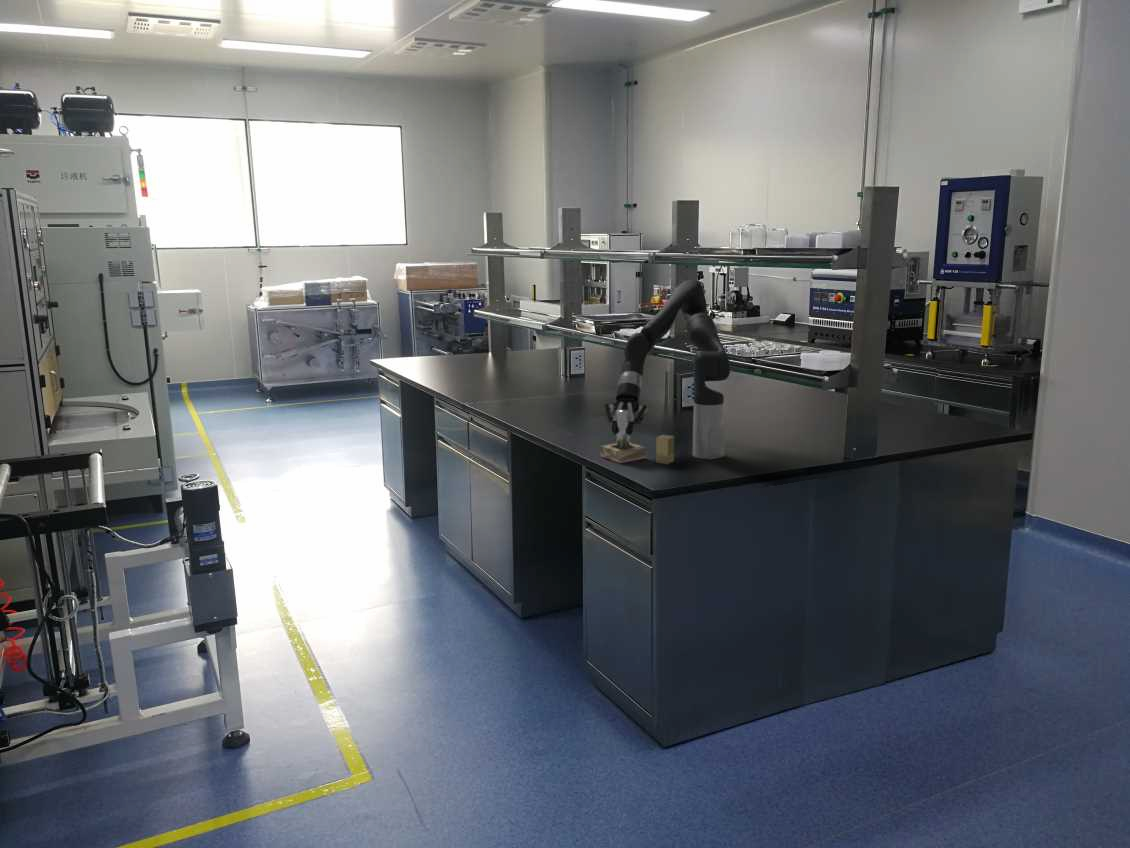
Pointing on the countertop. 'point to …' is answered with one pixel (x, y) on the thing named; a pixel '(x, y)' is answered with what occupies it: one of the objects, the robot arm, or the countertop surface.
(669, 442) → the yellow brown rectangular block
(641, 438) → the countertop surface
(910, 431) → the countertop surface
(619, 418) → the cylinder
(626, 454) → the socket block
